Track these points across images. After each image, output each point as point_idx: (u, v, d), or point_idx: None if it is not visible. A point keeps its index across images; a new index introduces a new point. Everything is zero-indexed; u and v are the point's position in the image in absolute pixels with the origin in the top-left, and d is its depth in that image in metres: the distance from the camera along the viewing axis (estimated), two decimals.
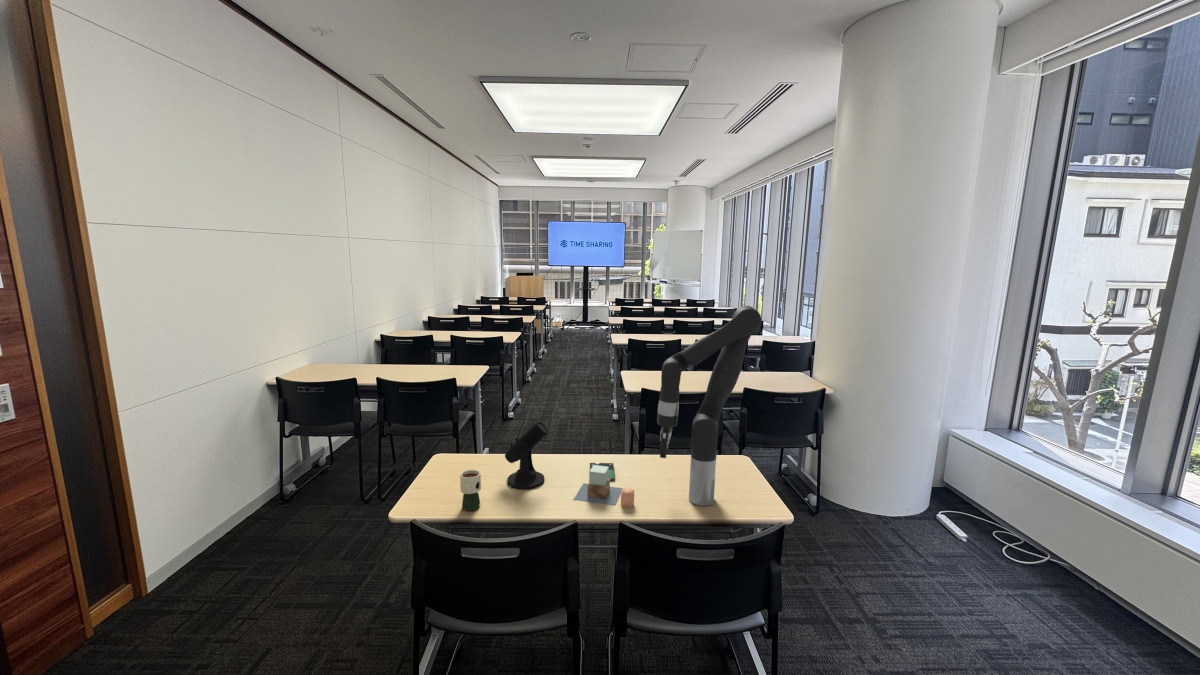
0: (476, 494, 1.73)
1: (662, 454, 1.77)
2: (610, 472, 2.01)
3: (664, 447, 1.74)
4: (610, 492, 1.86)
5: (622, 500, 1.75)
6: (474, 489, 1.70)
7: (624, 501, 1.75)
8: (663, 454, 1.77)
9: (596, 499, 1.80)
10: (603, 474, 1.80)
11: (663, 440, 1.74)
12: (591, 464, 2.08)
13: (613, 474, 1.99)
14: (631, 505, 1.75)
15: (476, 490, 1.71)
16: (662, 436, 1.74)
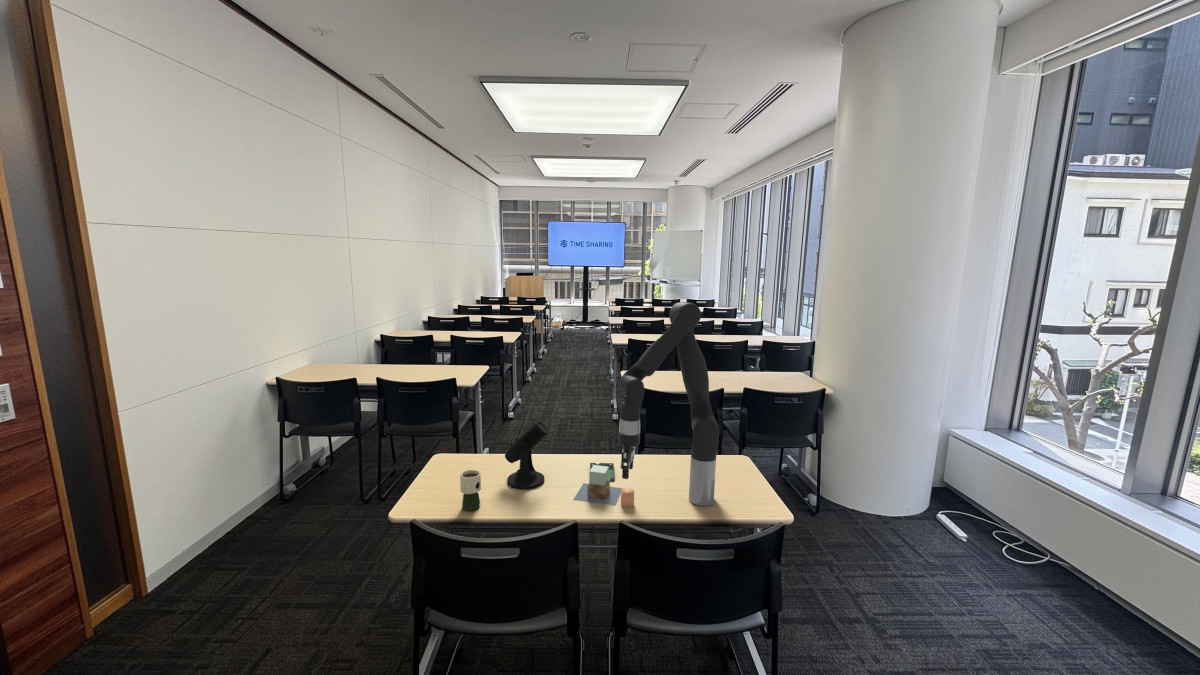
0: (476, 494, 1.73)
1: (624, 475, 1.70)
2: (610, 472, 2.00)
3: (625, 468, 1.68)
4: (610, 492, 1.86)
5: (622, 500, 1.75)
6: (474, 489, 1.70)
7: (624, 501, 1.75)
8: (625, 475, 1.70)
9: (596, 499, 1.80)
10: (603, 474, 1.80)
11: (624, 460, 1.68)
12: (591, 464, 2.08)
13: (613, 474, 1.99)
14: (631, 505, 1.75)
15: (476, 490, 1.71)
16: (623, 456, 1.68)
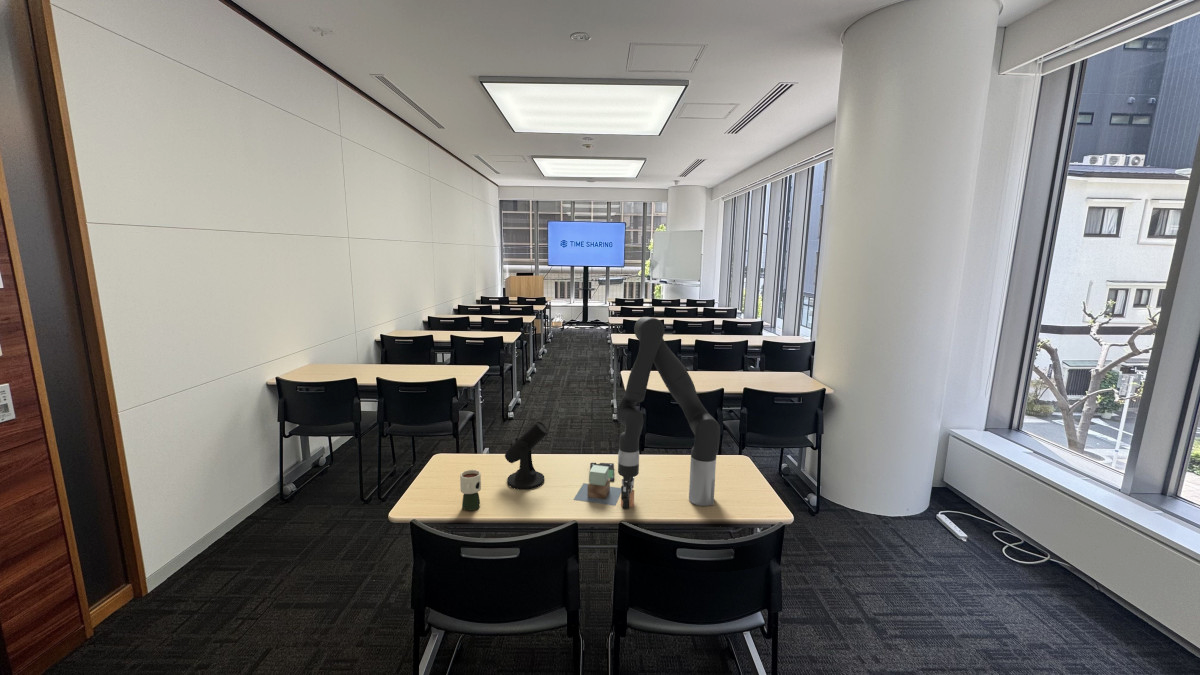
0: (476, 494, 1.73)
1: (625, 505, 1.73)
2: (610, 472, 2.00)
3: (626, 499, 1.71)
4: (610, 492, 1.86)
5: (622, 500, 1.75)
6: (474, 489, 1.70)
7: None
8: (626, 505, 1.73)
9: (596, 499, 1.80)
10: (603, 474, 1.80)
11: (624, 493, 1.70)
12: (591, 464, 2.08)
13: (612, 474, 1.99)
14: (631, 505, 1.75)
15: (476, 490, 1.71)
16: (623, 490, 1.70)
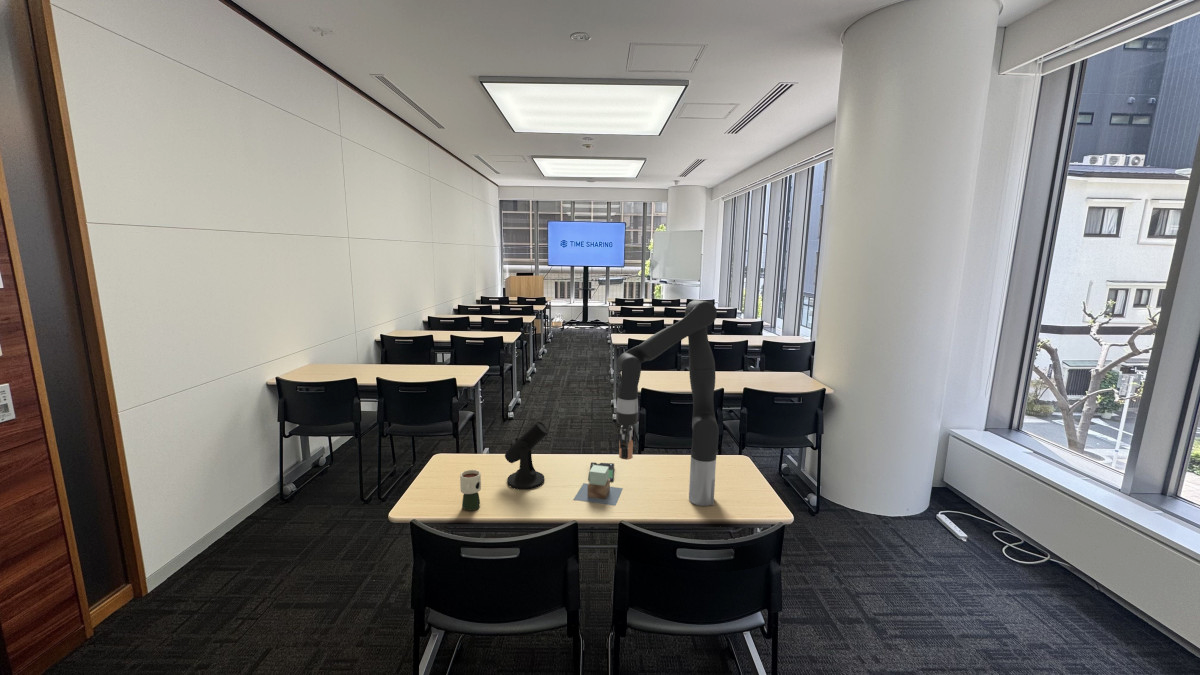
0: (476, 494, 1.73)
1: (623, 454, 1.71)
2: (609, 472, 2.00)
3: (624, 447, 1.68)
4: (610, 492, 1.86)
5: (620, 450, 1.73)
6: (474, 489, 1.70)
7: None
8: (624, 454, 1.71)
9: (596, 499, 1.80)
10: (603, 474, 1.80)
11: (622, 441, 1.68)
12: (592, 464, 2.08)
13: (612, 474, 1.98)
14: (629, 455, 1.73)
15: (476, 490, 1.71)
16: (621, 438, 1.67)
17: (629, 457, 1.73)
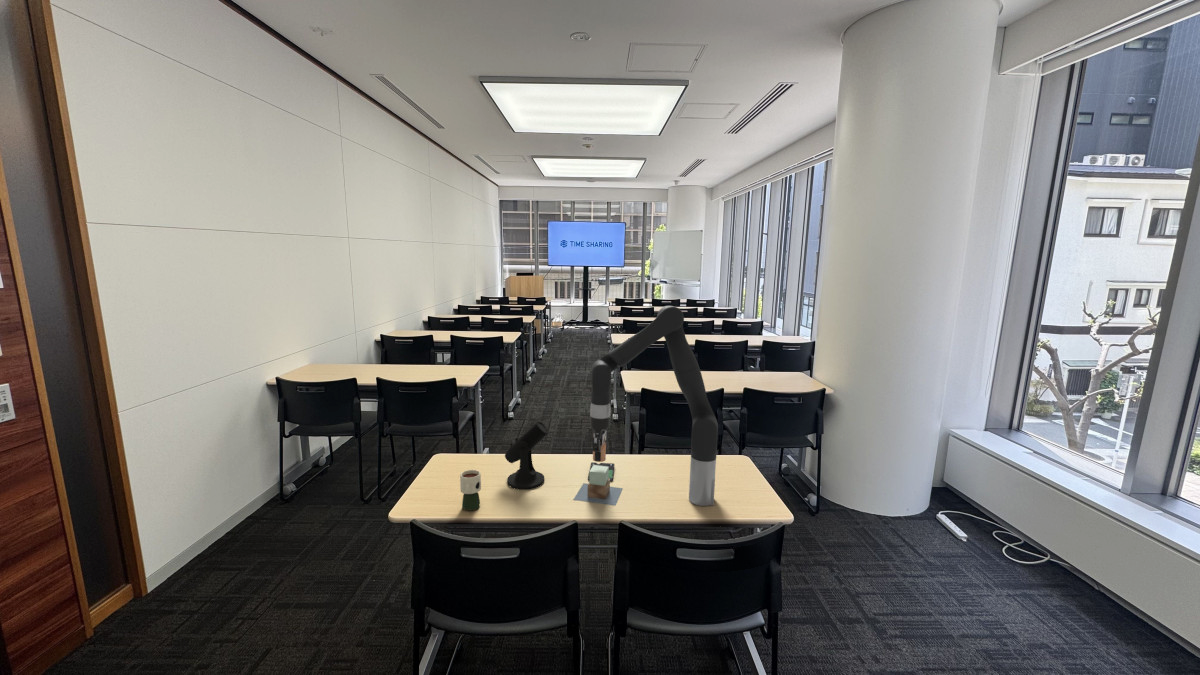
0: (476, 494, 1.73)
1: (596, 457, 1.79)
2: (609, 472, 2.00)
3: (597, 450, 1.76)
4: (610, 492, 1.86)
5: (594, 452, 1.81)
6: (474, 489, 1.70)
7: None
8: (597, 457, 1.79)
9: (596, 499, 1.80)
10: (603, 474, 1.80)
11: (595, 445, 1.75)
12: (592, 464, 2.08)
13: (611, 474, 1.98)
14: (602, 457, 1.80)
15: (476, 490, 1.71)
16: (594, 441, 1.75)
17: (602, 460, 1.80)
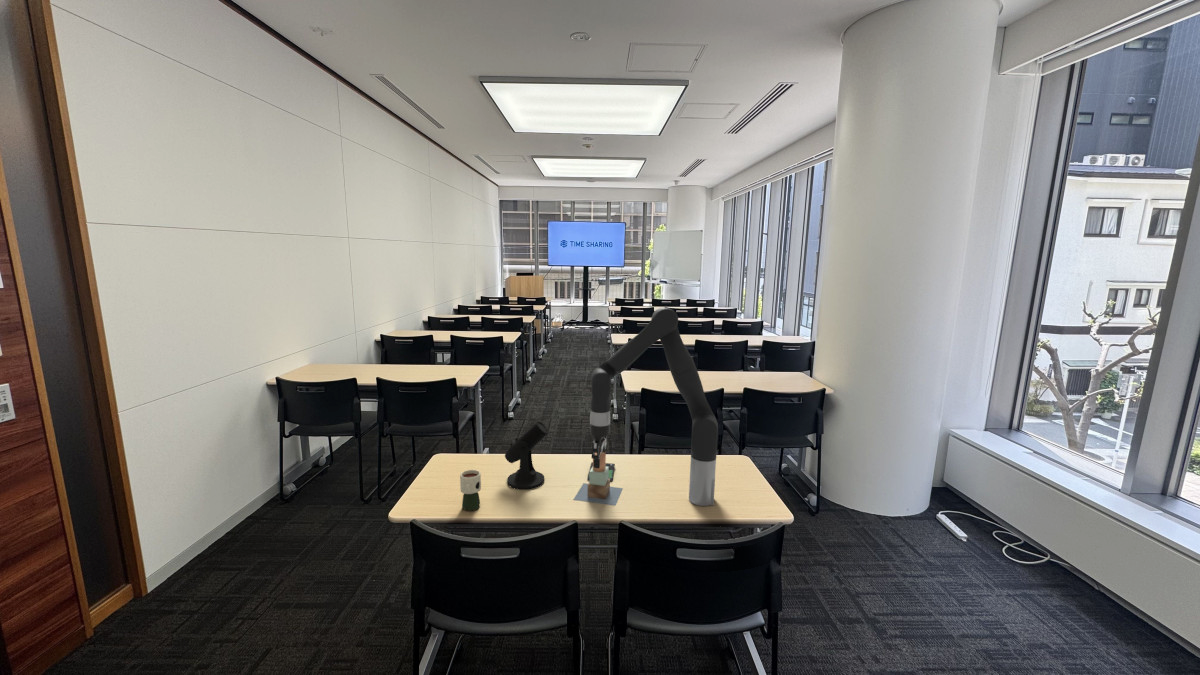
0: (476, 494, 1.73)
1: (595, 464, 1.77)
2: (609, 472, 2.00)
3: (596, 457, 1.75)
4: (610, 492, 1.86)
5: None
6: (474, 489, 1.70)
7: None
8: (596, 464, 1.77)
9: (596, 499, 1.80)
10: (603, 474, 1.80)
11: (594, 450, 1.75)
12: (592, 463, 2.08)
13: (611, 474, 1.98)
14: (602, 467, 1.81)
15: (476, 490, 1.71)
16: (593, 447, 1.75)
17: (602, 469, 1.81)
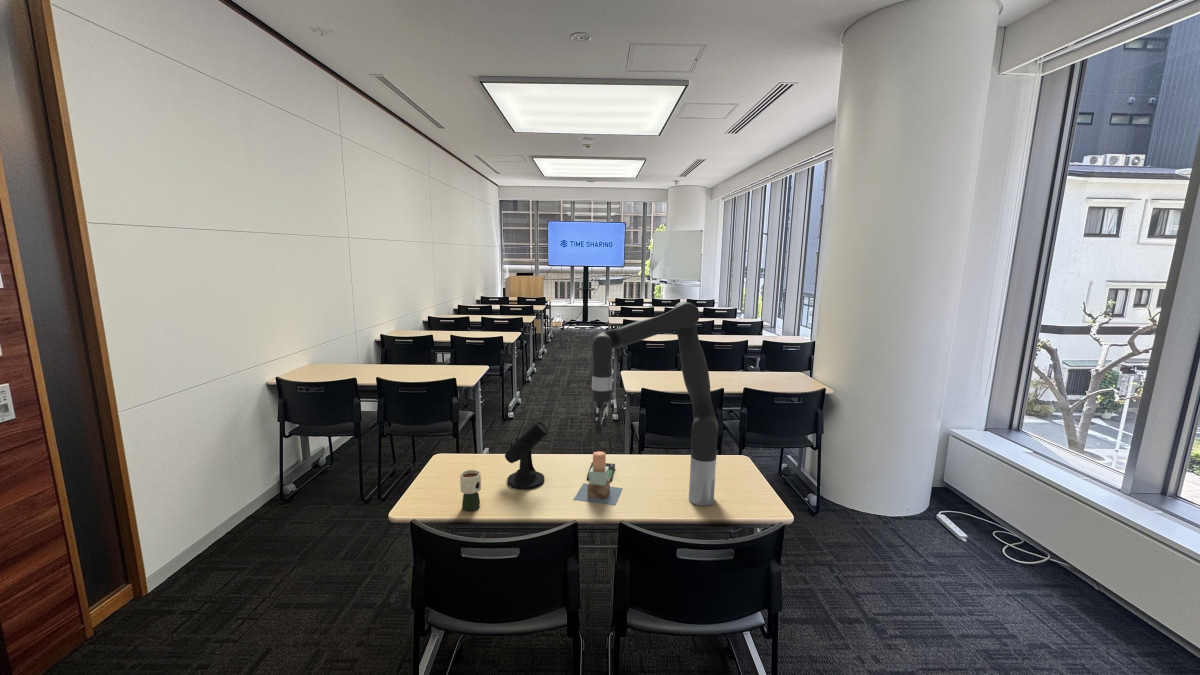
0: (476, 494, 1.73)
1: (597, 430, 1.76)
2: None
3: (598, 422, 1.73)
4: (610, 492, 1.86)
5: (594, 462, 1.81)
6: (474, 489, 1.70)
7: (595, 463, 1.80)
8: (598, 430, 1.76)
9: (596, 499, 1.80)
10: (603, 474, 1.80)
11: (596, 415, 1.73)
12: (592, 463, 2.09)
13: (611, 474, 1.98)
14: (602, 467, 1.81)
15: (476, 490, 1.71)
16: (595, 411, 1.73)
17: (602, 469, 1.81)
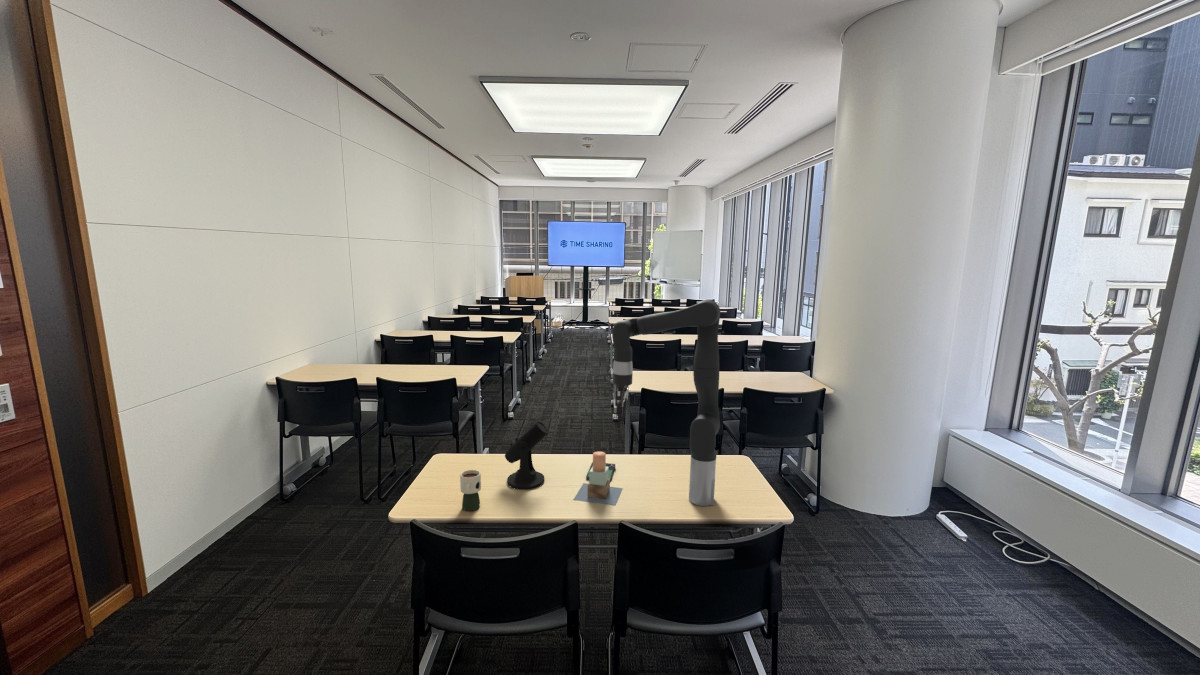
0: (476, 494, 1.73)
1: (618, 412, 1.84)
2: None
3: (619, 404, 1.81)
4: (610, 492, 1.86)
5: (594, 462, 1.81)
6: (474, 489, 1.70)
7: (595, 463, 1.80)
8: (619, 412, 1.84)
9: (596, 499, 1.80)
10: (603, 474, 1.80)
11: (618, 398, 1.81)
12: None
13: (610, 475, 1.98)
14: (602, 467, 1.81)
15: (476, 490, 1.71)
16: (617, 394, 1.81)
17: (602, 469, 1.81)
